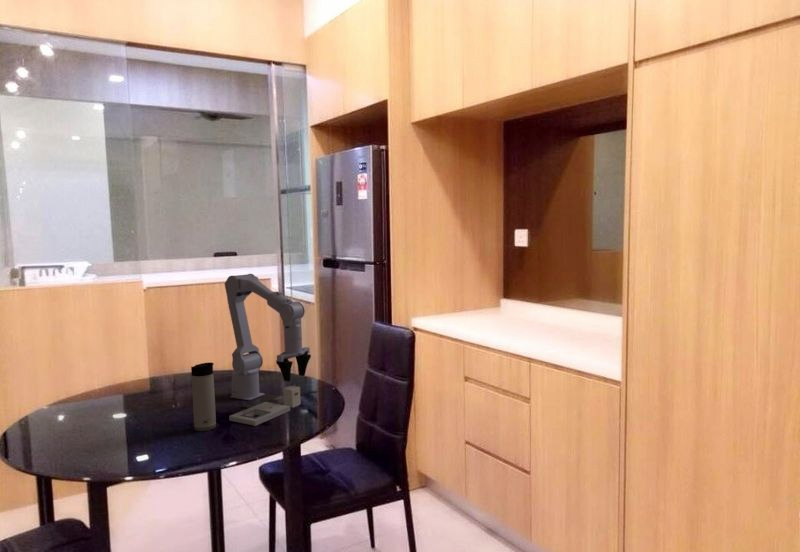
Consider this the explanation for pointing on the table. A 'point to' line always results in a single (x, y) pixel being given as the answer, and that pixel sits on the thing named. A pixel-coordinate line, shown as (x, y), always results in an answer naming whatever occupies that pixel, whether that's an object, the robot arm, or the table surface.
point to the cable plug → (278, 400)
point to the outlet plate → (259, 413)
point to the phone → (260, 401)
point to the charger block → (291, 396)
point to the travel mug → (203, 397)
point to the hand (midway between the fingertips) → (294, 378)
